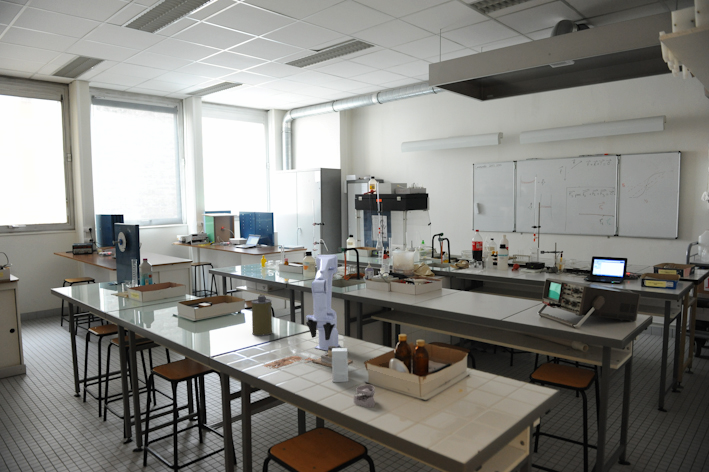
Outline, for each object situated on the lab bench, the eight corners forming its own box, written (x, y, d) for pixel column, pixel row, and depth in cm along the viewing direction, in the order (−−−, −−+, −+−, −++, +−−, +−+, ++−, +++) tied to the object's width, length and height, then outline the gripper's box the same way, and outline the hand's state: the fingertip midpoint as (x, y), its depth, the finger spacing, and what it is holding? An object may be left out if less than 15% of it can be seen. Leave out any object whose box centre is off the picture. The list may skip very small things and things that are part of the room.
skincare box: (347, 377, 182) (347, 347, 181) (348, 381, 178) (347, 351, 177) (332, 378, 182) (331, 347, 181) (332, 382, 178) (331, 351, 177)
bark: (297, 354, 212) (297, 353, 212) (315, 359, 204) (315, 358, 204) (258, 368, 196) (258, 366, 196) (276, 374, 188) (276, 373, 188)
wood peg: (331, 358, 203) (331, 345, 202) (338, 360, 201) (337, 346, 200) (326, 361, 200) (326, 347, 200) (333, 362, 198) (332, 348, 198)
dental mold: (382, 402, 160) (382, 388, 159) (369, 409, 154) (369, 394, 154) (363, 396, 165) (363, 382, 164) (351, 403, 159) (350, 388, 159)
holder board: (327, 356, 209) (327, 349, 208) (352, 361, 201) (352, 354, 200) (312, 362, 201) (312, 355, 200) (338, 368, 192) (338, 361, 192)
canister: (270, 336, 242) (269, 297, 240) (250, 336, 242) (249, 297, 241) (274, 330, 253) (273, 293, 251) (255, 330, 253) (254, 293, 251)
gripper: (301, 307, 203) (301, 338, 204) (327, 311, 195) (328, 343, 196) (311, 304, 209) (312, 334, 210) (337, 308, 201) (338, 339, 202)
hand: (320, 338), depth 204 cm, fingers open, 7 cm apart
